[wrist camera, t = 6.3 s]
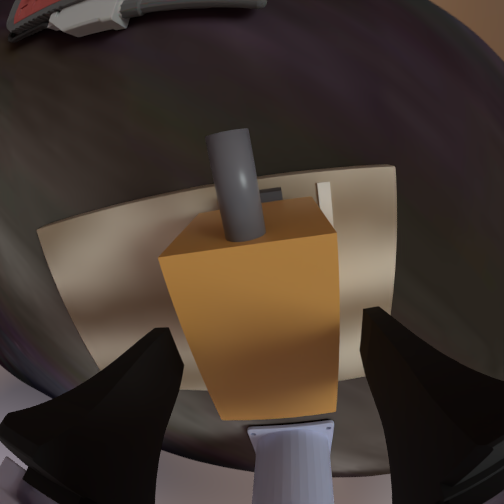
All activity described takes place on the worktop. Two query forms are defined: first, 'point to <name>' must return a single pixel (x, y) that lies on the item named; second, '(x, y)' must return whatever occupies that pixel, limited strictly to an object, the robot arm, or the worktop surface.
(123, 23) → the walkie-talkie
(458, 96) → the worktop surface
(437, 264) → the worktop surface
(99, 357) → the board
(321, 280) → the socket block
